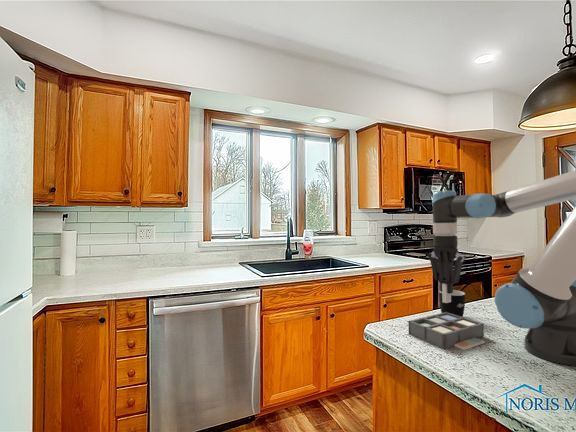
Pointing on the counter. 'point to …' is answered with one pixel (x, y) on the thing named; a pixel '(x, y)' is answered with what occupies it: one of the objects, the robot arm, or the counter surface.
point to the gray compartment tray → (457, 338)
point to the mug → (453, 303)
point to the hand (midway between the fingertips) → (446, 301)
